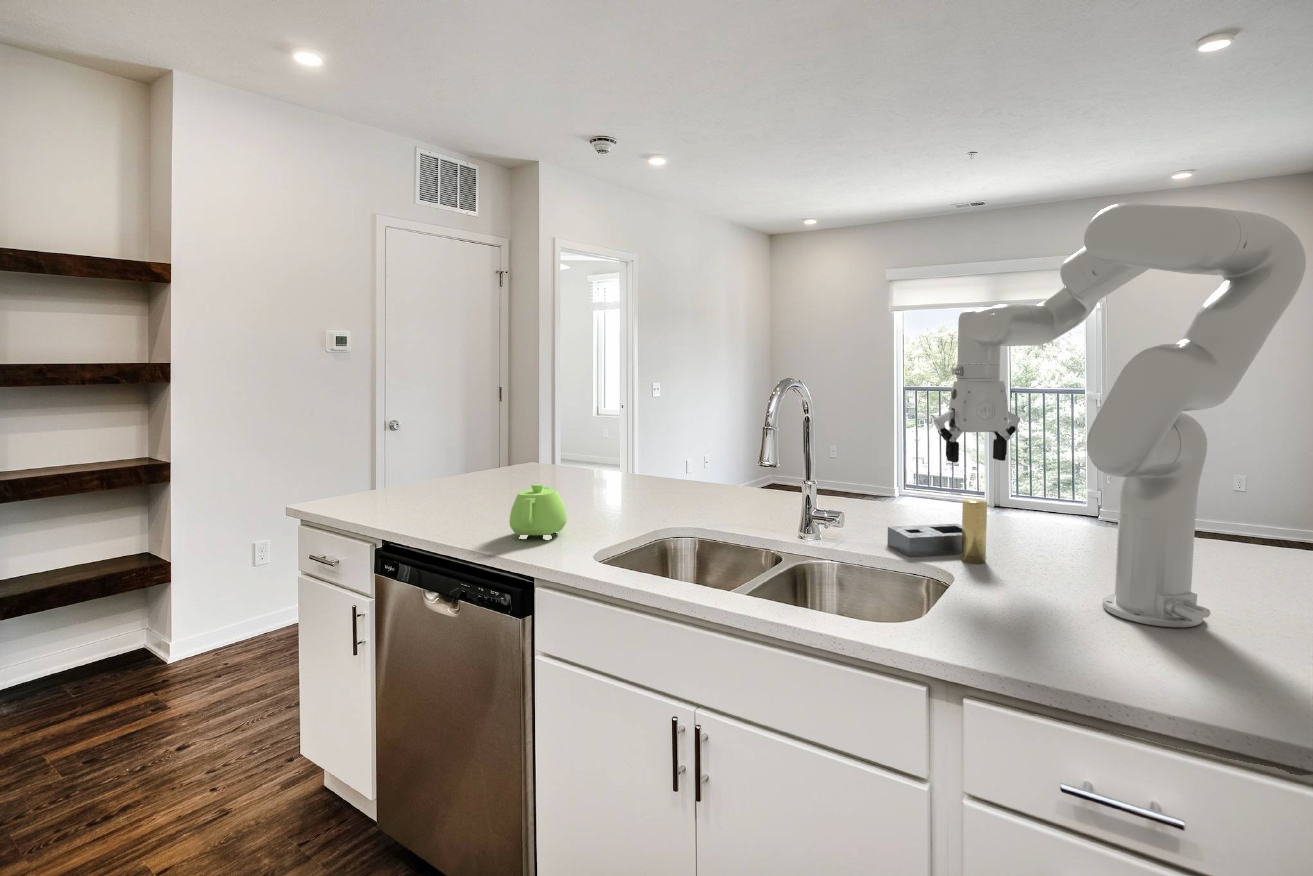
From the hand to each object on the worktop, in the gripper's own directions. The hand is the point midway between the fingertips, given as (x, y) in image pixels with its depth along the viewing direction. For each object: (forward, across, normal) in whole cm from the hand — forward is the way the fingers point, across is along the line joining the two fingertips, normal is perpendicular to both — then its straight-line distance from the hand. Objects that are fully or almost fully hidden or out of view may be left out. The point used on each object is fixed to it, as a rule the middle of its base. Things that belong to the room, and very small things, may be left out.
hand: (976, 460), depth 135 cm
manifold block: (+20, -3, +10) cm, 23 cm away
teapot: (+20, -88, +38) cm, 98 cm away
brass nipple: (+20, 0, 0) cm, 20 cm away
